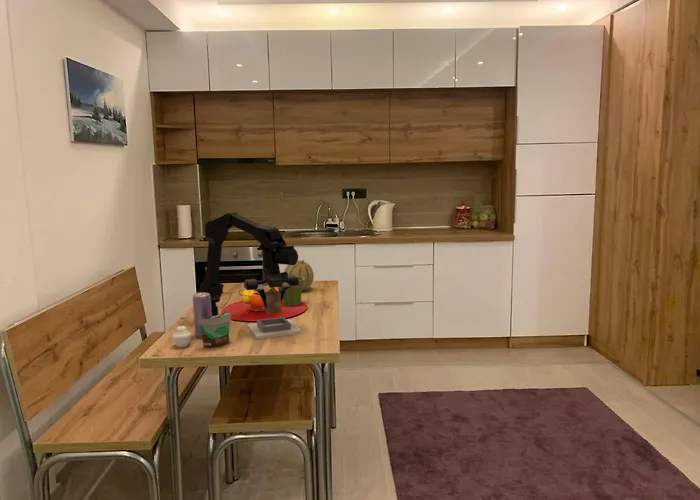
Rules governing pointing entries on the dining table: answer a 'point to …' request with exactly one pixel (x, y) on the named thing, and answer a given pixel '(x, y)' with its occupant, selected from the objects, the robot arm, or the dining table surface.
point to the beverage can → (201, 310)
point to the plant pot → (293, 293)
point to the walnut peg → (272, 302)
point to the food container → (215, 330)
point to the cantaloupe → (301, 272)
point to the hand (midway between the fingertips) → (272, 306)
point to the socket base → (273, 328)
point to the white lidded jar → (181, 336)
